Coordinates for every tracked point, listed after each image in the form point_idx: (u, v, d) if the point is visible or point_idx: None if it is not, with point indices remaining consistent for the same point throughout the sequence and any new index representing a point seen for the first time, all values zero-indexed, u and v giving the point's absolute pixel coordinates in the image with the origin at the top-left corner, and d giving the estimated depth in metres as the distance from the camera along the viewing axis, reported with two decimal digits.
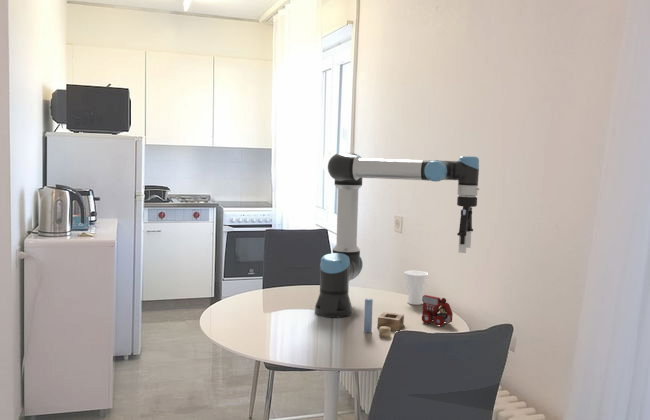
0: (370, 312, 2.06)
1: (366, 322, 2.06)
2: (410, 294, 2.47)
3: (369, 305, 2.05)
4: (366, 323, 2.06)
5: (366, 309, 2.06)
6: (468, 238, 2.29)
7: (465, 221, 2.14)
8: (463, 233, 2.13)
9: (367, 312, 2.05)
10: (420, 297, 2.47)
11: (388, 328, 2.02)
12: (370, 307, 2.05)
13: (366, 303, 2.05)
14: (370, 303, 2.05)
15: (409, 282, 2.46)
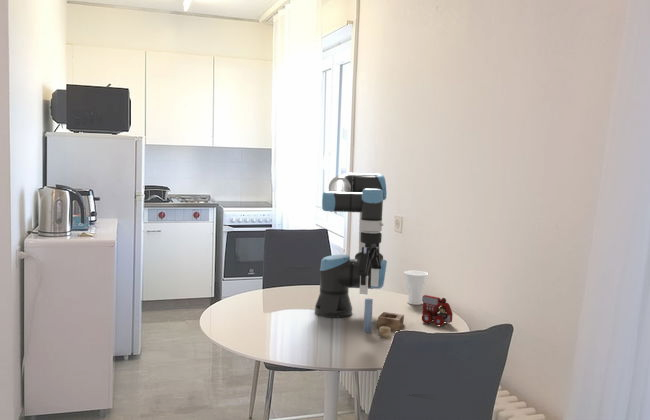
0: (370, 312, 2.06)
1: (366, 322, 2.06)
2: (410, 294, 2.47)
3: (369, 305, 2.05)
4: (366, 323, 2.06)
5: (366, 309, 2.06)
6: (375, 276, 2.11)
7: (365, 260, 1.97)
8: (362, 273, 1.96)
9: (367, 312, 2.05)
10: (420, 297, 2.47)
11: (388, 328, 2.02)
12: (370, 307, 2.05)
13: (366, 303, 2.05)
14: (370, 303, 2.05)
15: (409, 282, 2.46)
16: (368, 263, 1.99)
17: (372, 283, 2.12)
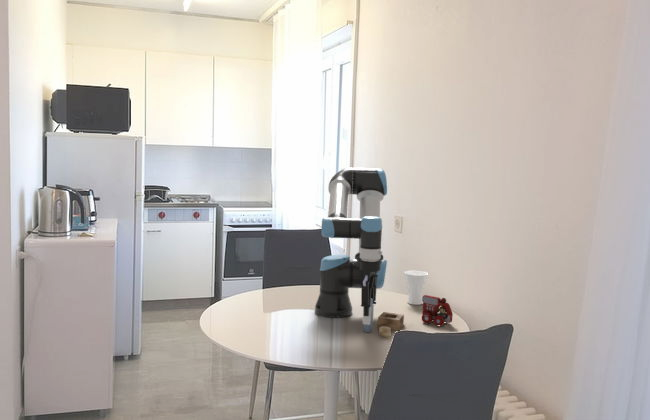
0: None
1: None
2: (410, 294, 2.47)
3: None
4: None
5: None
6: None
7: (366, 293, 2.01)
8: (366, 306, 2.02)
9: None
10: (420, 297, 2.47)
11: (388, 328, 2.02)
12: (370, 306, 2.06)
13: None
14: (370, 302, 2.05)
15: (409, 282, 2.46)
16: (369, 294, 2.03)
17: None
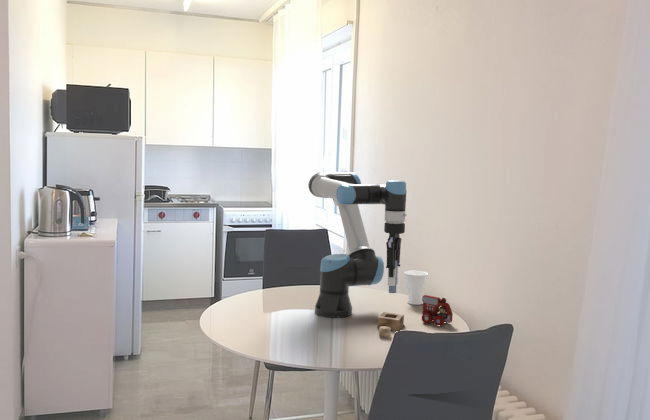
0: None
1: None
2: (410, 294, 2.47)
3: None
4: None
5: None
6: None
7: (392, 254, 2.06)
8: (391, 267, 2.08)
9: None
10: (420, 297, 2.47)
11: (388, 328, 2.02)
12: None
13: None
14: (395, 264, 2.11)
15: (409, 282, 2.46)
16: (394, 256, 2.09)
17: None
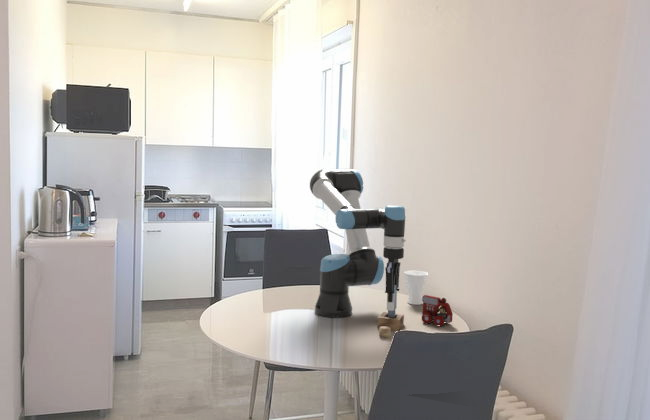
0: None
1: None
2: (410, 294, 2.47)
3: None
4: None
5: None
6: None
7: (391, 280, 2.07)
8: (390, 292, 2.09)
9: None
10: (420, 297, 2.47)
11: (388, 328, 2.02)
12: None
13: None
14: (394, 289, 2.12)
15: (409, 282, 2.46)
16: (393, 281, 2.10)
17: None
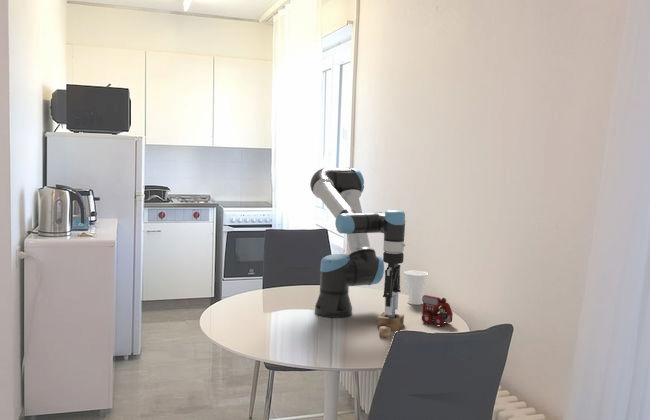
0: (393, 307, 2.13)
1: (389, 317, 2.13)
2: (410, 294, 2.47)
3: None
4: None
5: None
6: None
7: (389, 283, 2.06)
8: (388, 296, 2.06)
9: None
10: (420, 297, 2.47)
11: (388, 328, 2.03)
12: (393, 303, 2.12)
13: None
14: (393, 299, 2.12)
15: (409, 282, 2.46)
16: (392, 285, 2.09)
17: None
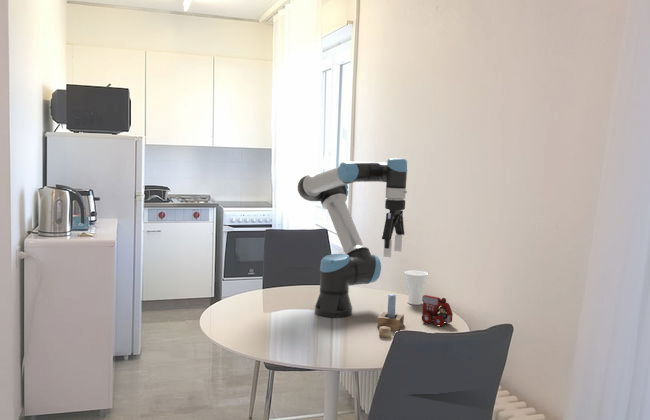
0: (393, 307, 2.13)
1: (389, 317, 2.13)
2: (410, 294, 2.47)
3: (392, 300, 2.12)
4: None
5: (389, 304, 2.13)
6: (399, 242, 2.24)
7: (389, 225, 2.10)
8: (386, 237, 2.09)
9: (391, 307, 2.13)
10: (420, 297, 2.47)
11: (388, 328, 2.03)
12: (393, 302, 2.13)
13: (389, 299, 2.13)
14: (393, 299, 2.12)
15: (409, 282, 2.46)
16: (392, 228, 2.12)
17: (395, 248, 2.25)
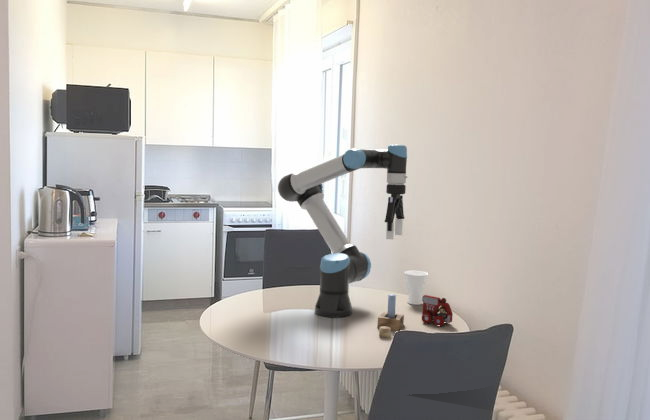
0: (393, 307, 2.13)
1: (389, 317, 2.13)
2: (410, 294, 2.47)
3: (392, 300, 2.12)
4: None
5: (389, 304, 2.13)
6: (399, 226, 2.33)
7: (392, 208, 2.19)
8: (389, 220, 2.18)
9: (391, 307, 2.13)
10: (420, 297, 2.47)
11: (388, 328, 2.03)
12: (393, 302, 2.13)
13: (389, 299, 2.13)
14: (393, 299, 2.12)
15: (409, 282, 2.46)
16: (394, 211, 2.21)
17: (396, 232, 2.34)
